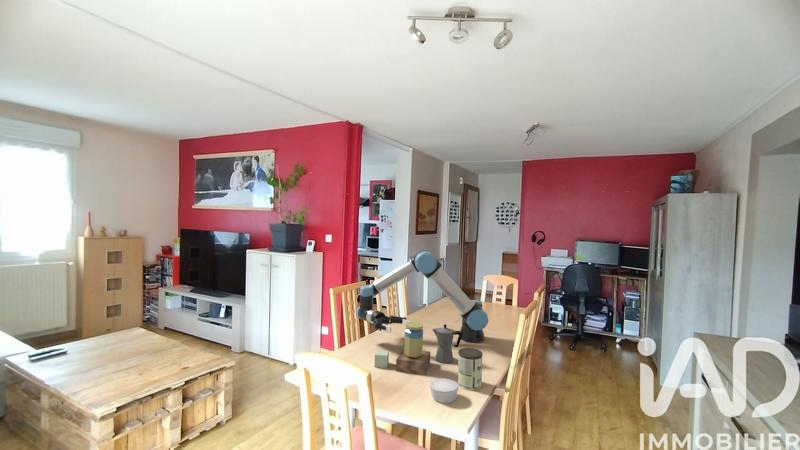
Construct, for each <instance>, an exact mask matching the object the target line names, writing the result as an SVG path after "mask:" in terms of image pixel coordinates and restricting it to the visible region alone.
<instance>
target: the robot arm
mask: <svg viewBox="0 0 800 450" xmlns="http://www.w3.org/2000/svg"><path fill="white" fill-rule="evenodd" d="M419 272H420V273H421V274H422V275H424V277H425V278H426V279H427V280H428V279H429V280H431V281H432V282H433V283H434V284H435V285H436V286H437V287H438V288H439V290H440V291H441V292H442V293H443V294H444V295H445V296H446V298H448V300H449V301H450V302H451V303H452V304H453V306H455V307H456V309H458V311H459V313H458V314H459V316H460V317H461V327H460V330H459V331H460V333H461V334H462V338H461V341H463V342H465V343H466V342H467V343H481V342H484V341H485V333H484V329H485V328H486V327H487V325H488V322H489V317H488V314H487V312H486V311H485V310H484V309H483V301H481V300H478V299H470V298H469V296H468V295H466V293H465V292H464V291H463V290H462V289H461V288H460V287H459V286H458V285H457V284H456V282H455V281H454V280H453V279H452V278H451V277H450V276H449V274H447V272H446V271H445V270H444V269H443V264H442V263H441V262H440V261H439V259H438V258H437V257H436V256H435V255H434V254H433V252H431V251H430V250H428V249H422V250H420V251H419V252H417V253H416V254H415V255H413V256H412V257H410V258H409V259H408V261H407V262H405V263H403V264H402V265H400V266H397V267H396V268H394V269H393V270H392V271H390V272H388V273H386V274H384V276H382V277H380V278H378V279H376V280H375V281H373V282H371V283H370V284H367V285H362V286H360V287H359V306H358V307H357V309H356V311H355V314H356V316H357V318H358V319H360V320H361V321H365V322H367V323H370V324H371V325H372V326H373V327H374V329H375V330H376V331H377V330H378V331H380V332H382V330H383V331H385V332H388V333H392V326H390V325H392V324H399V325H400V324H401V325H403V326H404V327H406V322H410V320H407V317H402V316H396V315H395V316H394V315H389V316H388V315H387V316H386V314H385V313H384V312H382V311H379V310H378V309H374V297H376V296H378V295H379V294H381V293H382V292H384V291H386V290H387V289H390V288H391V287H392V286H394V285H396V284H398V283H399V282H401V281H402V280H405V279H406V278H408V277H409V276H411V275H413V274H414V273H419ZM388 324H389V325H388Z"/></svg>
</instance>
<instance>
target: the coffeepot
mask: <svg viewBox="0 0 800 450" xmlns="http://www.w3.org/2000/svg"><path fill="white" fill-rule="evenodd" d="M432 331H433V332H434V335H435V337H436V340H437V349H436V354H435V360H436V362H438V363H442V364H450V363H453V362H454V355H453V349H452V345H453V341H454V335H458V336H457V340H456V344H454V345H453V347H454V348H458V347H460V343H461V341H462V340H461V338H462V334H461V333H460V330H454V329H452V328H449V327H447V324H445V323H444V324H443V327H438V328H433V329H432Z"/></svg>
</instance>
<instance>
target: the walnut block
mask: <svg viewBox="0 0 800 450" xmlns="http://www.w3.org/2000/svg"><path fill="white" fill-rule="evenodd" d="M395 361H396V362H395V364H396V365H395V366H396V367H395V372H399V373H406V374H407V373H408V374H416V375H427V373H428V370H429V367H430V365H431V351H429V350H428V351H427V350H422V356H420V357H417V358H411V357H408V356H407V355H405V354H404V348H402V349H401V351H400V353H399V354H398V356H397V358H396V360H395Z"/></svg>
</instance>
